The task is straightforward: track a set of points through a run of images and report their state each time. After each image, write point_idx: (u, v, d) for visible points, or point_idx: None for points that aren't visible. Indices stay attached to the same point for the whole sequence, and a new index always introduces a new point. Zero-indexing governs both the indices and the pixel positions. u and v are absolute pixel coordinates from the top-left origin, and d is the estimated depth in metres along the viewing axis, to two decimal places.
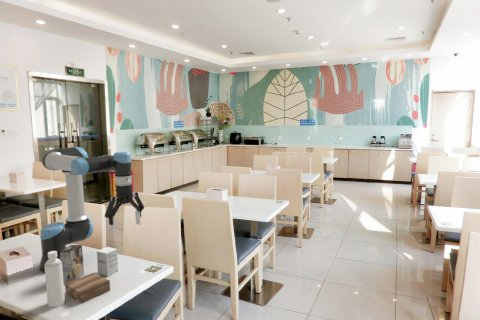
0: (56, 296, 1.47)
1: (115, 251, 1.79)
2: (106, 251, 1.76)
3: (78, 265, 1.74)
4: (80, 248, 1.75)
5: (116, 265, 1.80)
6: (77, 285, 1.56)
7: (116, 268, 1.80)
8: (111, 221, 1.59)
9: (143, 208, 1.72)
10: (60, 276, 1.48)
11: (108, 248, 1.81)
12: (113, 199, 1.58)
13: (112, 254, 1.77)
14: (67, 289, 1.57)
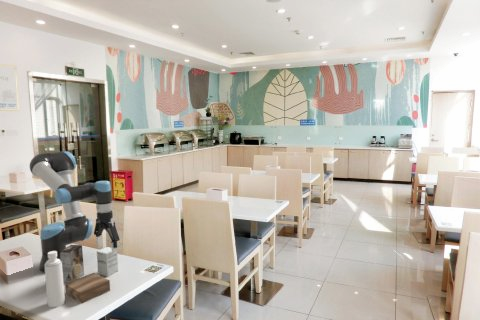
0: (56, 296, 1.47)
1: None
2: (106, 251, 1.76)
3: (78, 265, 1.74)
4: (80, 248, 1.75)
5: (116, 265, 1.80)
6: (77, 285, 1.56)
7: (116, 268, 1.80)
8: (97, 239, 1.82)
9: (114, 241, 1.71)
10: (60, 276, 1.48)
11: (108, 248, 1.81)
12: (96, 220, 1.80)
13: None
14: (67, 289, 1.57)
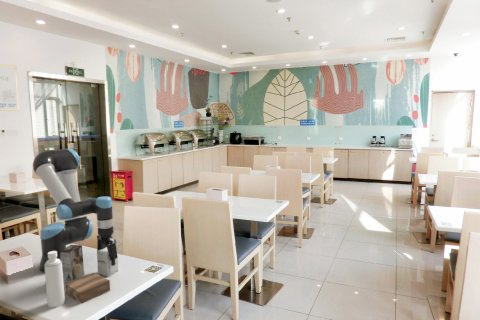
0: (56, 296, 1.47)
1: None
2: (106, 251, 1.76)
3: (78, 265, 1.74)
4: (80, 248, 1.75)
5: (116, 265, 1.80)
6: (77, 285, 1.56)
7: (116, 268, 1.80)
8: None
9: (112, 258, 1.74)
10: (60, 276, 1.48)
11: None
12: (97, 237, 1.81)
13: None
14: (67, 289, 1.57)
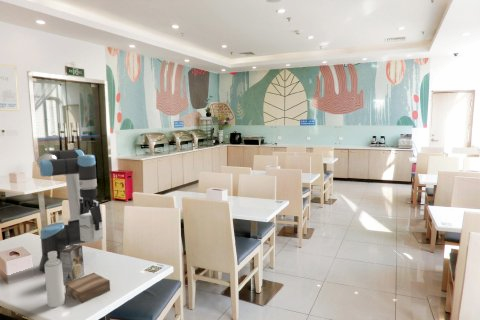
0: (56, 296, 1.47)
1: None
2: (89, 215, 1.59)
3: (78, 265, 1.74)
4: (80, 248, 1.75)
5: (101, 231, 1.63)
6: (77, 285, 1.56)
7: (100, 234, 1.63)
8: None
9: (96, 222, 1.57)
10: (60, 276, 1.48)
11: None
12: (79, 201, 1.64)
13: None
14: (67, 289, 1.57)
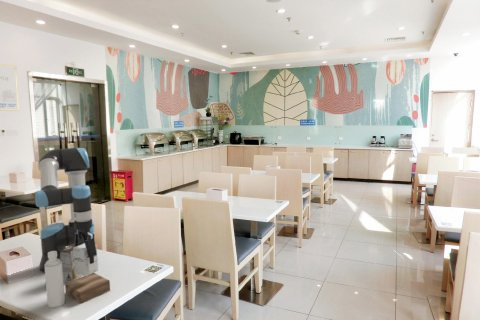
0: (56, 296, 1.47)
1: None
2: (84, 247, 1.55)
3: None
4: None
5: (96, 263, 1.59)
6: (77, 285, 1.56)
7: (95, 266, 1.59)
8: None
9: (90, 255, 1.53)
10: (60, 276, 1.48)
11: None
12: (74, 232, 1.60)
13: None
14: (67, 289, 1.57)
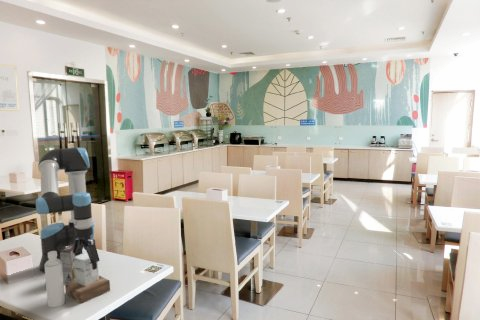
0: (56, 296, 1.47)
1: None
2: (84, 258, 1.56)
3: None
4: None
5: None
6: (77, 285, 1.56)
7: (96, 276, 1.59)
8: None
9: (93, 261, 1.51)
10: (60, 276, 1.48)
11: None
12: (74, 237, 1.60)
13: None
14: (67, 289, 1.57)
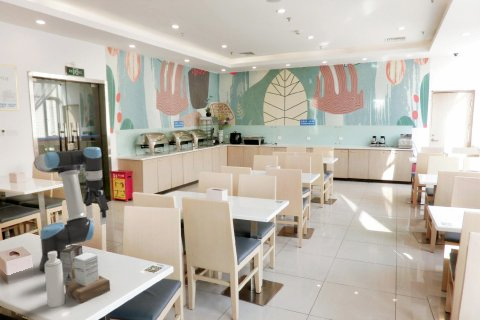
0: (56, 296, 1.47)
1: (95, 257, 1.58)
2: (84, 258, 1.56)
3: None
4: (80, 248, 1.75)
5: (96, 273, 1.60)
6: (77, 285, 1.56)
7: (96, 276, 1.59)
8: None
9: (102, 210, 1.62)
10: (60, 276, 1.48)
11: (88, 254, 1.60)
12: (86, 189, 1.71)
13: (91, 260, 1.57)
14: (67, 289, 1.57)
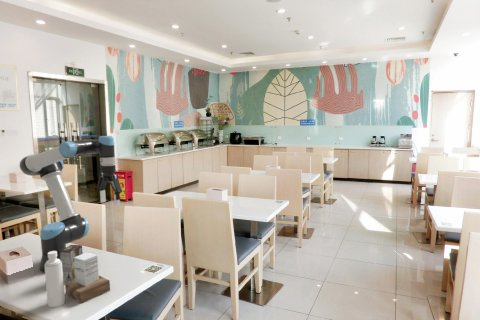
0: (56, 296, 1.47)
1: (95, 257, 1.58)
2: (84, 258, 1.56)
3: None
4: (80, 248, 1.75)
5: (96, 273, 1.60)
6: (77, 285, 1.56)
7: (96, 276, 1.59)
8: (100, 193, 1.89)
9: (117, 192, 1.77)
10: (60, 276, 1.48)
11: (88, 254, 1.60)
12: (99, 175, 1.86)
13: (91, 260, 1.57)
14: (67, 289, 1.57)
